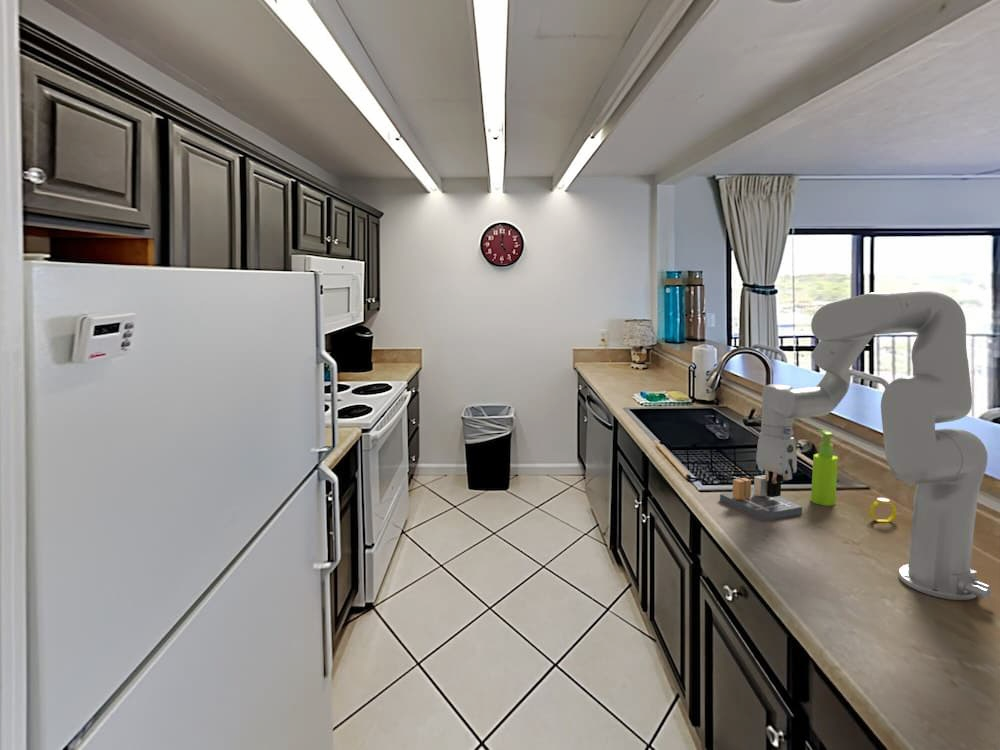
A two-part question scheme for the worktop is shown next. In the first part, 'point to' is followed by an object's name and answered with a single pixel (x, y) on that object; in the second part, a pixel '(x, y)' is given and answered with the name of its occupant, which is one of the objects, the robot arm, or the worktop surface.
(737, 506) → the mixer panel
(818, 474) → the soap dispenser
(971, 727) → the worktop surface
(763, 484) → the fader ivory
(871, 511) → the watch
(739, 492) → the fader orange
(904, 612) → the worktop surface
